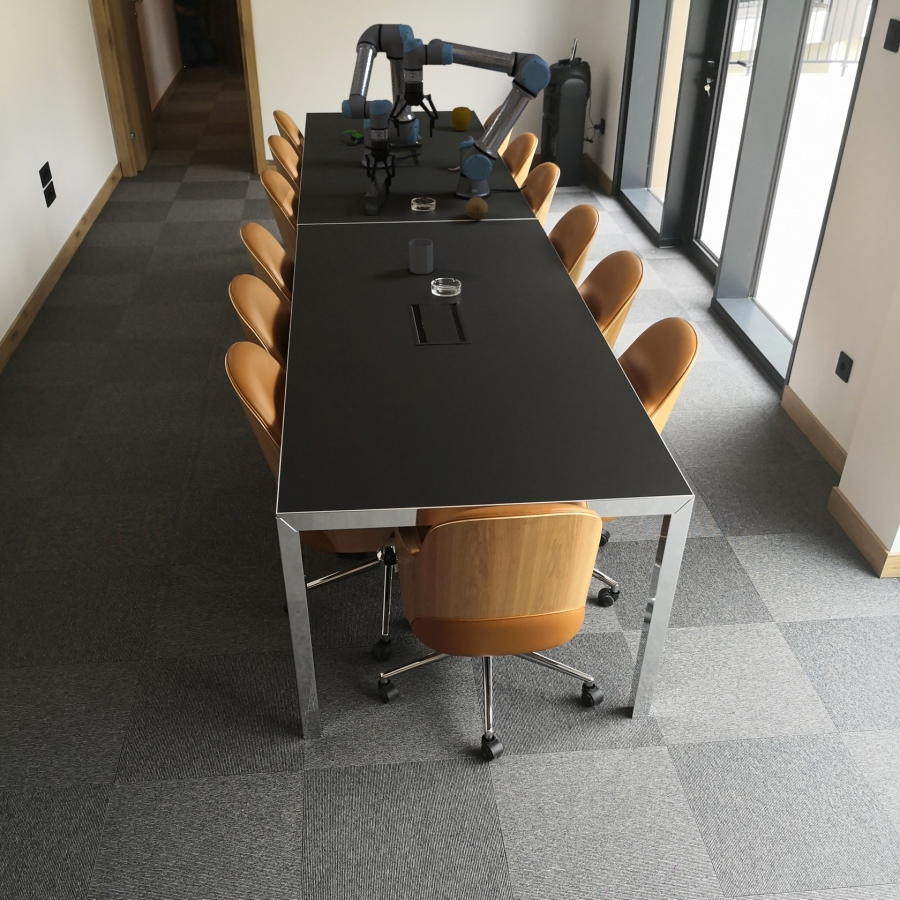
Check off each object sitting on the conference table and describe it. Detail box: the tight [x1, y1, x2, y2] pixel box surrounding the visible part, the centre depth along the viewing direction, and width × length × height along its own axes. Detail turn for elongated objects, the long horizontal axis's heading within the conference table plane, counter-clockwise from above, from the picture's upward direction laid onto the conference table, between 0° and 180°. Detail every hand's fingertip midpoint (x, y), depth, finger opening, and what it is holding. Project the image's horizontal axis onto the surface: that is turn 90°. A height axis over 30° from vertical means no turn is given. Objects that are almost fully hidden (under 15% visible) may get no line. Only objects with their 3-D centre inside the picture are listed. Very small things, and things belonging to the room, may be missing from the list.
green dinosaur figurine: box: [340, 129, 364, 146], centre depth 465 cm, size 6×13×30 cm
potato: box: [464, 197, 489, 220], centre depth 355 cm, size 10×14×8 cm
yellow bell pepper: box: [451, 105, 472, 132], centre depth 487 cm, size 11×11×13 cm
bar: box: [364, 173, 388, 216], centre depth 373 cm, size 34×5×8 cm, turn 176°
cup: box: [408, 237, 434, 275], centre depth 305 cm, size 8×8×10 cm
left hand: (381, 192), depth 386 cm, fingers closed on bar, 5 cm apart
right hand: (414, 136), depth 358 cm, fingers open, 13 cm apart
